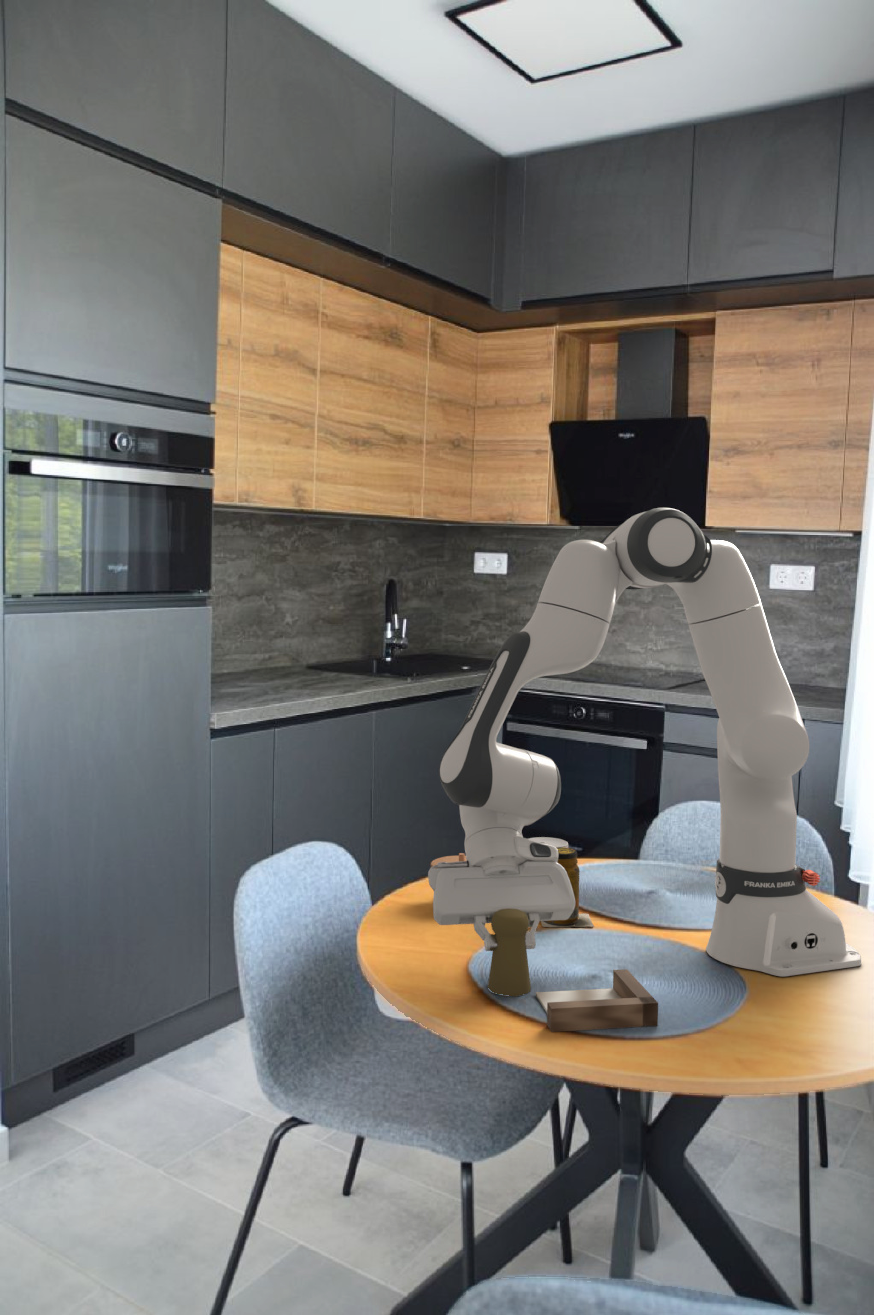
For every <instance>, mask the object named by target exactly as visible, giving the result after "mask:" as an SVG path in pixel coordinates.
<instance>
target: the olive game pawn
mask: <svg viewBox="0 0 874 1315" xmlns="http://www.w3.org/2000/svg"><path fill="white" fill-rule="evenodd" d="M490 924H491V929H492V932H493V934H496V941H497V948H496V949H495V950H494V951H492V954H491V962H490V967H489V975H488V981H487V989H488V988H489V989H490V990H491V991H492V992H494V993H497V994H503V995H509V996H513V997H520V996H519V995H521V996H524V995H523V994H525V995H526V994H530V992H531V991H530V990H532V987H531V985H532V984H531V977H530V969H529V961H528V954H527V953H528V950H527V949H526V946H525V934H526V933H528V931H529V928H530V927H529V920H528V917H527V915H526V914H525V912H523V911H521V910H518V909H510V908H509V909H501V910H498V911H496V912H495V913H494V915H493V917H492V920H491V923H490ZM528 927H529V928H528ZM492 992H491V993H492ZM494 993H493V994H494ZM509 996H508V997H509Z"/></svg>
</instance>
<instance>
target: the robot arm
mask: <svg viewBox="0 0 874 1315" xmlns="http://www.w3.org/2000/svg"><path fill="white" fill-rule="evenodd" d="M664 585H667V586H669V587H670V588H671V589H672V590H673V591H674V592H675V593H676V595H677V596H678V598H679V600H680V602H681V603H682V606H683V610H684V614H685V617H686V622H687V625H688V629H689V633H690V635H691V639H692V642H693V646H694V650H695V652H696V656H697V660H698V663H699V666H700V669H701V673H702V675H703V677H704V678H703V679H704V680H705V683H706V684H707V685H706V686H707V689H708V690H709V693H710V695H711V698H712V702H713V703H714V706H715V709H716V712H717V715H718V717H719V718H718V721H717V724H716V743H717V745H716V749H717V775H718V776H717V777H718V790H719V791H718V792H719V801H720V802H719V803H720V819H719V820H720V822H719V823H720V829H719V858H718V859H717V860H716V866H715V879H714V882H715V883H714V884H715V896H716V905H715V911H714V916H713V917H714V918H713V922H712V923H713V924H712V928H711V931H710V934H709V938H708V941H707V944H706V947H705V951H706V953H707V954H708V955H709V956H710V957H712V958H713V959H714V960H717V961H719V962H721V963H724V964H727V965H730V966H733V967H736V968H742V969H747V970H752V971H759V972H763V973H765V974H768V975H772V976H777V977H790V976H797V975H804V974H805V975H806V974H811V973H818V972H825V971H833V970H839V969H846V968H853V967H859V966H861V965H862V957H861V954H860V953H859V951H858V950H857V949H856V948H854V946H851V945H850V944H849V943H847V942H846V935H845V934H846V933H845V929H844V926H843V922H842V920H841V919H840V917H839V916H838V915H837V914H836V913H835V911H833V910H832V909H830V908H829V907H828V906H827V905H826V904H825V903H823V902H822V901H821V900H819V898H818V897H816V895H814V894H813V893H811V892H810V891H808V889H807V887H806V883H807V884H808V885H809V886H812V887H815V886H818V885H819V884H818V883H820V880H821V878H820V877H821V876H820V875H819V873H817V872H815V871H813V870H811V869H805V868H803V867H801V866H799V865H798V864H796V857H797V856H796V855H797V854H796V853H797V824H798V820H797V819H798V816H797V813H798V812H797V810H796V805H795V804H796V803H795V796H794V788H793V777H792V776H794V775H795V774H797V773H798V772H799V771H800V770H801V769H802V768H803V767H804V765H805V764H806V762H807V760H808V758H809V755H810V754H809V753H810V739H809V736H808V731H807V730H806V727H805V724H804V722H803V719H802V715H801V713H800V709H799V707H798V705H797V702H796V700H795V699H796V698H795V697H794V694H793V692H792V688H791V686H790V684H789V681H788V678H787V676H786V674H785V671H784V670H783V667H782V665H781V662H780V659H779V658H778V657H779V656H778V654H777V652H776V649H775V645H774V642H773V638H772V635H771V632H770V628H769V625H768V622H767V618H766V614H765V612H764V608H763V604H762V601H761V598H760V595H759V592H758V588H757V587H756V586H757V585H756V584H755V580H754V579H753V576H752V573H751V572H750V569H749V567H748V565H747V563H746V561H745V558H744V557H743V555H742V553H741V552H740V549H738V548H737V546H736V545H734V544H733V543H731V542H729V541H726V540H719V539H717V540H716V539H710V537H708V536H707V535H706V534H705V533H704V532H703V531H702V529H701V528H700V527H699V525H697V523H696V522H695V521H694V520H693V519H692V518H691V517H690V516H689V515H688V514H686V513H684V512H683V511H680V510H679V509H675V508H671V507H657V508H652V509H650V510H649V509H648V510H647V511H643V512H640V513H637V514H634V515H632V516H631V517H630V518H629V517H628V519H626V520H625V521H624V522H623V523H621V524H619V525H617V526H616V527H614V529H612V530H610V532H608V534H607V535H606V536H605V537H603V539H602V540H600V542H599V541H595V540H591V539H578V540H577V539H576V540H573V541H572V540H571V541H569V542H568V543H566V544H565V545H564V546H563V547H561V549H560V550H559V553H558V554H557V556H556V558H555V559H554V562H553V564H552V566H551V567H550V570H549V572H548V574H547V577H546V579H545V582H544V583H543V587H542V589H541V592H540V595H539V597H538V601H537V604H536V607H535V609H534V611H533V614H532V616H531V617H530V620H529V621H528V622H527V623H526V624H525V626H524V627H523V628H522V629H521V630H520V631H518V632H515V633H512V634H510V635H509V636H508V637H507V638H506V639H505V641H504V642H503V643H502V645H501V646H500V648H499V649H498V651H497V653H496V655H495V656H494V658H493V661H492V663H491V664H490V666H489V668H488V670H487V672H486V675H485V677H484V679H483V681H482V682H481V684H480V687H479V689H478V691H477V693H476V694H475V698H474V699H473V702H472V703H471V705H470V708H469V710H468V712H467V714H466V716H465V718H464V720H463V722H462V724H461V726H460V728H459V730H458V731H457V733H456V734H455V736H453V739H452V740H451V742H450V743H449V745H448V746H447V747H446V749H445V751H444V753H443V754H442V757H441V760H440V763H439V768H438V778H439V781H440V783H441V784H440V785H441V786H442V788H443V790H444V792H445V793H446V795H447V797H448V798H449V799H450V801H451V802H453V804H455V805H457V806H459V815H460V817H459V818H460V823H461V826H462V829H463V830H464V834H465V837H464V844H463V845H464V851H465V852H464V854H465V856H466V860H467V861H457V862H439V863H437V865H435V866H433V867H431V866H430V868H429V870H428V872H427V879H428V885H429V887H430V888H431V889H432V890H434V891H433V898H432V900H433V901H432V911H433V914H432V915H433V919H434V920H435V922H436V923H437V924H438V925H439V926H453V925H473V929H474V931H475V933H476V934H477V935H478V936H479V937H480V939H481V940H482V941H483V944H484V950H485V952H493V951H494V950H495V949H496V948H497V941H496V934H495V933H492V934H491V933H490V932H489V930H488V929H487V928H486V924H491V920H492V917H493V915H494V913H495V912H496V911H498V910H501V909H509V908H510V909H518V910H521V911H523V912H525V914H526V915H527V917H528V920H529V927H528V929H530V930H529V932H527V933H526V934H525V946H526V950H535V949H536V944H537V942H536V936H535V933H536V930H537V929H538V926H539V923H540V922H541V921H550V920H567V919H568V918H569V917H570V916H571V914H572V913H573V911H574V908H575V897H574V893H573V889H572V886H571V883H570V880H569V877H568V875H567V872H566V871H565V869H564V868H563V867H562V866H561V865H560V864H558V863H557V862H558V850H557V848H556V847H554V846H551V845H547V844H543V843H539V842H535V841H532V840H529V838H526V837H524V836H523V833H522V830H523V828H524V827H526V826H527V827H528V826H530V825H533V824H535V823H537V821H539V820H540V819H542V818H543V817H545V816H547V814H549V813H550V812H551V811H553V809H554V808H555V807H556V806H557V804H558V803H559V801H560V798H561V792H562V781H561V780H562V779H561V778H562V777H561V774H560V771H559V767H558V766H557V764H556V762H555V761H554V760H553V758H551V757H548V756H545V755H544V754H539V753H536V752H533V751H529V750H528V749H527V750H526V749H524V748H517V747H514V746H510V745H507V744H503V743H500V742H498V741H497V739H498V734H499V733H500V731H501V728H502V727H503V724H504V722H505V720H506V718H507V716H508V714H509V711H510V710H511V707H512V706H513V703H514V701H515V700H516V698H517V695H518V693H519V692H520V690H521V689H522V688H523V687H524V686H525V685H526V684H527V683H529V682H531V681H533V680H535V679H538V678H542V677H545V676H547V677H548V676H556V675H565V674H570V673H573V672H577V671H579V670H582V669H584V668H586V667H587V666H589V665H590V664H592V663H593V662H594V661H595V660H596V659H597V657H598V656H599V654H600V652H601V651H602V649H603V646H604V644H605V641H606V639H607V636H608V632H609V629H610V625H611V622H612V618H613V613H614V610H615V607H616V603H617V602H618V600H619V598H620V596H621V595H622V593H623V592H624V591H625V590H643V589H651V588H658V587H661V586H664ZM435 868H437V869H435Z"/></svg>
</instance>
